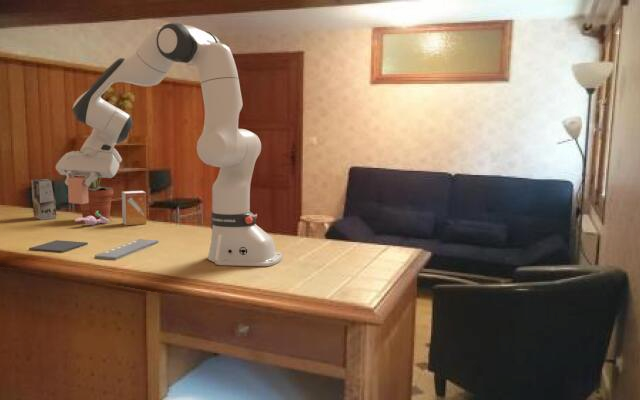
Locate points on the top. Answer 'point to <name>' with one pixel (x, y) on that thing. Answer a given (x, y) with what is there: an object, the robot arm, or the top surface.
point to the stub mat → (58, 246)
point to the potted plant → (97, 201)
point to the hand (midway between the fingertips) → (76, 184)
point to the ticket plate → (126, 249)
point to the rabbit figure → (94, 219)
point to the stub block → (77, 191)
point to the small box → (134, 207)
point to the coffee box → (44, 199)
